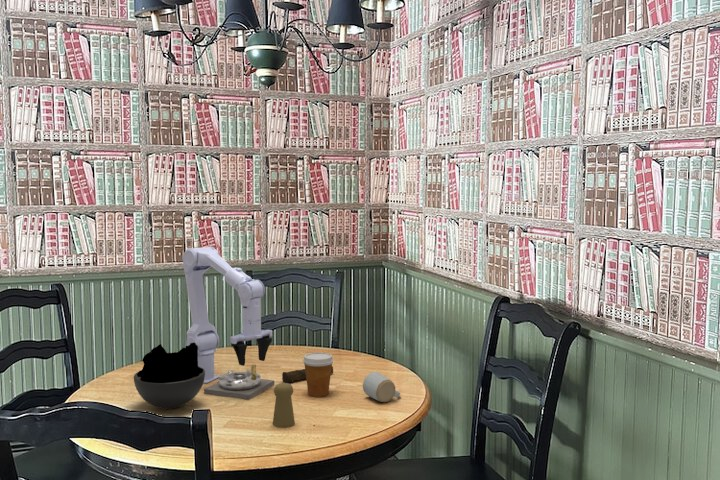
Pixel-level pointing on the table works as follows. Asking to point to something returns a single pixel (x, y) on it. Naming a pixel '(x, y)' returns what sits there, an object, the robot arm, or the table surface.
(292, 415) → the olive pawn figure
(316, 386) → the disposable coffee cup
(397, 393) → the ceramic mug
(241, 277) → the robot arm
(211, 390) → the base plate
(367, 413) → the table surface
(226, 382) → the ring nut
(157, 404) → the coal bowl
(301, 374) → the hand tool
